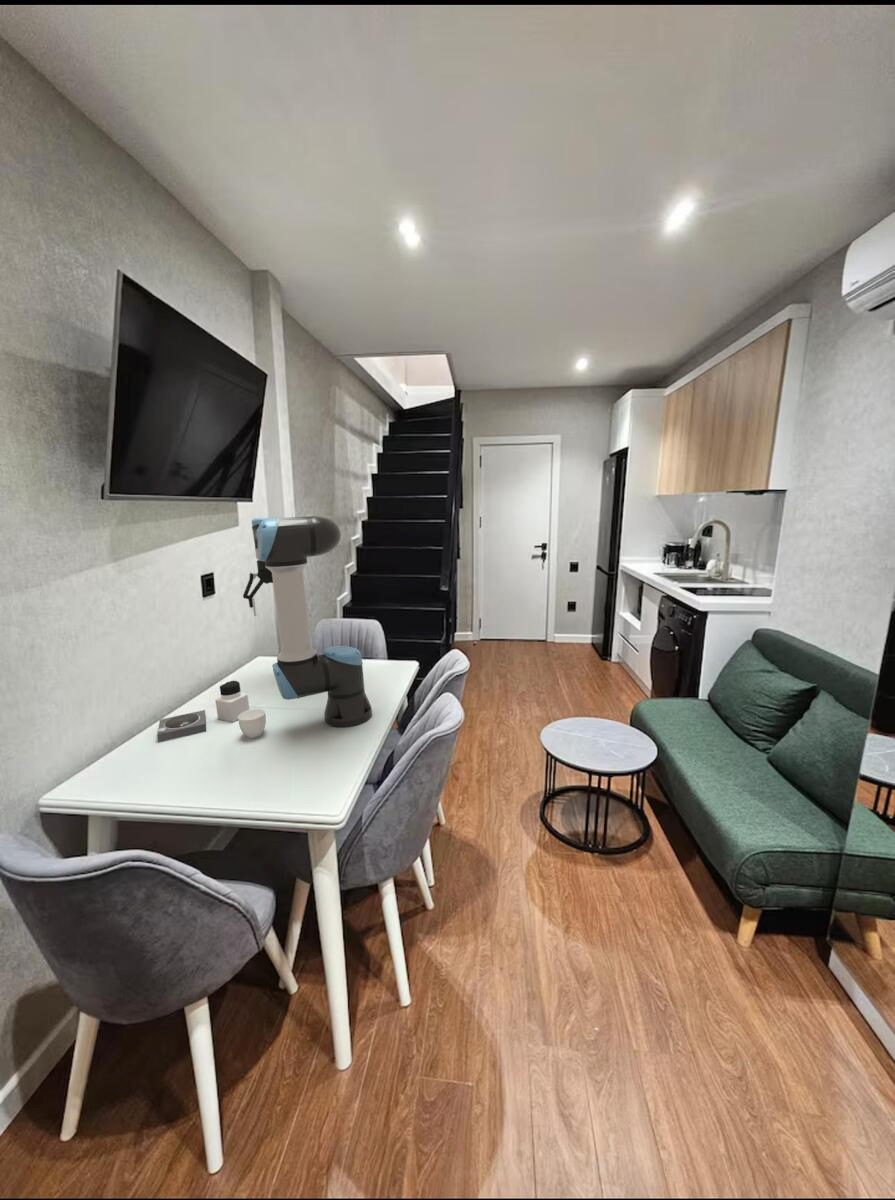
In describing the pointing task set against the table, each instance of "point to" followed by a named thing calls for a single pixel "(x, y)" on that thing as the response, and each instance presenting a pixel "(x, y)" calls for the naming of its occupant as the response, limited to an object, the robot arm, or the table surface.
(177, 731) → the grey square dish
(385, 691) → the table surface
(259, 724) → the cup
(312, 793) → the table surface
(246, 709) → the medicine bottle
